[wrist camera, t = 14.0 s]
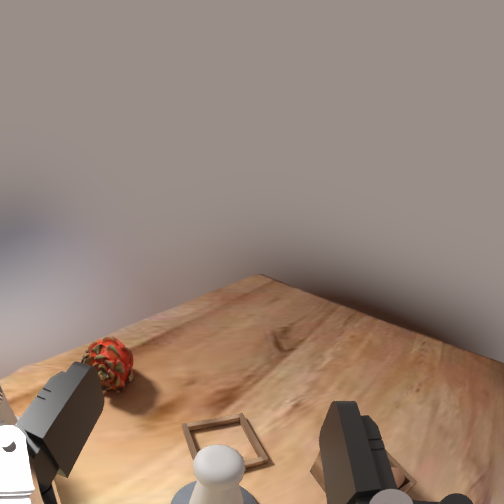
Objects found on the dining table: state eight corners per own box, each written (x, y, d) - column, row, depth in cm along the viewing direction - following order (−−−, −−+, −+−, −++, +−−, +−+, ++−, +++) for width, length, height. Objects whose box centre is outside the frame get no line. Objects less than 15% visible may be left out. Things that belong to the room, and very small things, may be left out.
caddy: (346, 455, 34) (368, 414, 31) (390, 507, 25) (425, 472, 22) (309, 471, 32) (329, 430, 29) (354, 530, 22) (387, 499, 19)
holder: (241, 417, 41) (242, 413, 41) (267, 462, 33) (268, 459, 33) (181, 428, 37) (181, 423, 37) (200, 478, 30) (200, 475, 29)
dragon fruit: (117, 415, 39) (105, 375, 48) (155, 381, 41) (136, 346, 51) (75, 384, 35) (72, 346, 44) (115, 347, 37) (104, 315, 47)
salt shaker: (244, 496, 27) (257, 437, 23) (241, 535, 22) (255, 491, 18) (193, 490, 27) (189, 429, 23) (186, 529, 22) (177, 481, 18)
